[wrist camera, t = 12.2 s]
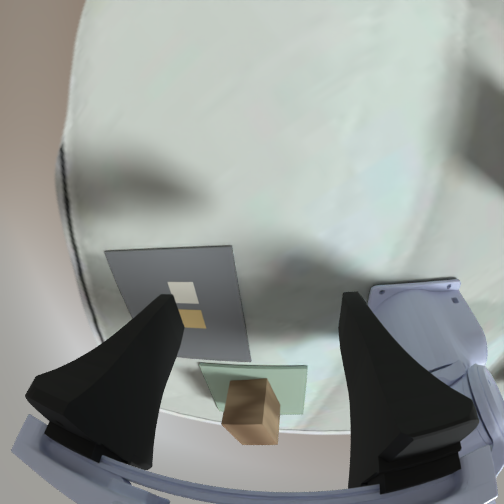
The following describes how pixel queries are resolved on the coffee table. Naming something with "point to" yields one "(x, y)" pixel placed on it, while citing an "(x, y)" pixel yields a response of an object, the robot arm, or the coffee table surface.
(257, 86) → the coffee table surface
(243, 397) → the walnut block
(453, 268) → the coffee table surface
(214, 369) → the mat
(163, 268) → the grey flat rectangular plate
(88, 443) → the robot arm
